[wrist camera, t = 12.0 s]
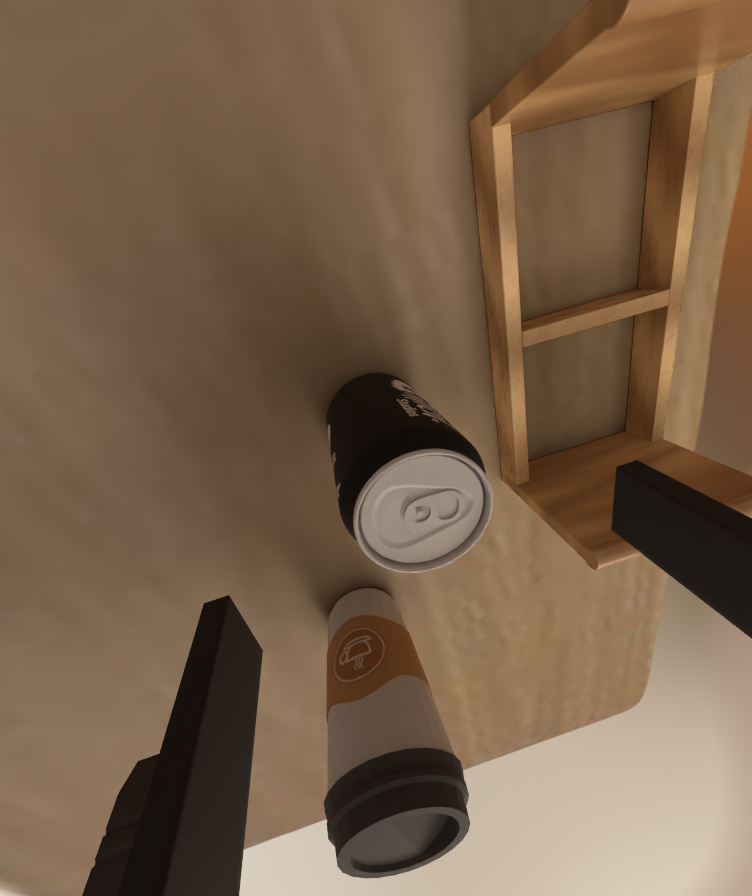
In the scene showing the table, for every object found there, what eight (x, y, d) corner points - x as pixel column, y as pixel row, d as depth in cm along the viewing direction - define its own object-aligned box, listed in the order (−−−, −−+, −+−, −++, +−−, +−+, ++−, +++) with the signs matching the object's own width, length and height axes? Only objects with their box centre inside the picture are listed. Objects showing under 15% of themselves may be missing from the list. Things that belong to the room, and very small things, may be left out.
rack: (468, 120, 19) (634, -51, 9) (671, 70, 20) (1015, -134, 10) (501, 480, 29) (597, 574, 20) (634, 439, 30) (789, 509, 20)
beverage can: (316, 380, 23) (326, 461, 12) (413, 362, 24) (505, 424, 13) (336, 468, 26) (358, 597, 15) (422, 449, 26) (503, 560, 16)
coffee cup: (388, 562, 30) (456, 780, 17) (419, 620, 34) (494, 837, 21) (300, 602, 30) (296, 852, 17) (340, 656, 34) (363, 896, 21)
